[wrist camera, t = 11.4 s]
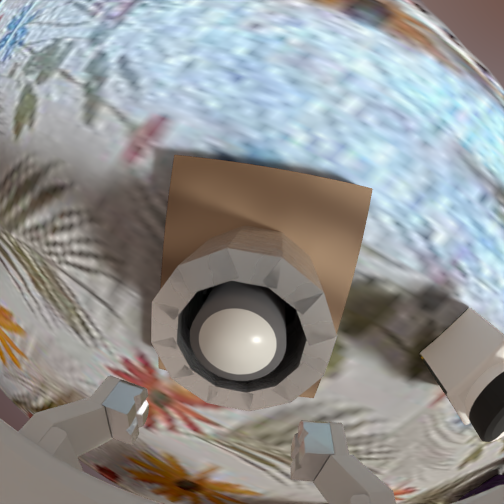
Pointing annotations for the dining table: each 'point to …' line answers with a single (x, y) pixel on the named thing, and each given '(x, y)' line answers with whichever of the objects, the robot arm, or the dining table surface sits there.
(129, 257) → the dining table surface
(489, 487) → the decorative bottle
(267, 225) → the mounting block
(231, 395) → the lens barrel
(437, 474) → the dining table surface
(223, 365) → the gray white-topped cylinder
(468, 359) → the medicine bottle
